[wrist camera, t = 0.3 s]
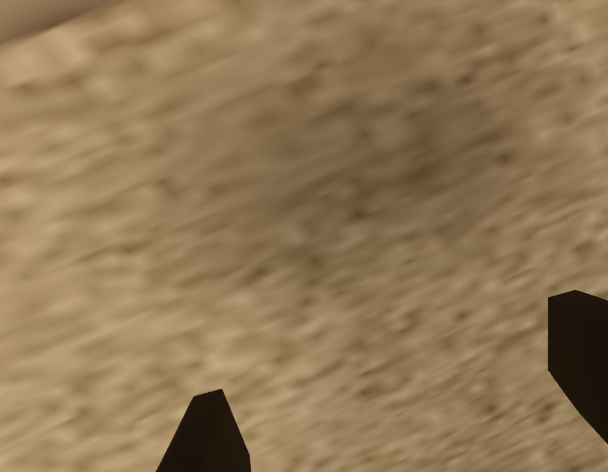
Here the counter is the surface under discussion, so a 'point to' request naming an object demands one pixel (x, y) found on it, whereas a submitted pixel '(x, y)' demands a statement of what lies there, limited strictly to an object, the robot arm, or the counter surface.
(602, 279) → the counter surface
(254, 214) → the counter surface
